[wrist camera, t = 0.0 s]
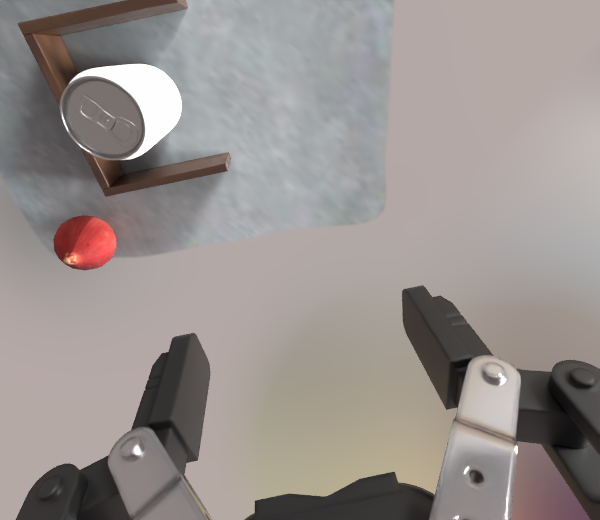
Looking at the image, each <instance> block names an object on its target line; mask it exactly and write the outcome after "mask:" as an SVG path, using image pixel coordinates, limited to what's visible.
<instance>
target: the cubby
mask: <svg viewBox="0 0 600 520" xmlns="http://www.w3.org/2000/svg"><path fill="white" fill-rule="evenodd" d="M187 8H188V7H187V3H186V0H125V1H121V2H116V3H111V4H106V5H102V6H97V7H92V8H87V9H83V10H78V11H73V12H68V13H64V14H59V15H54V16H50V17H45V18H40V19H35V20H31V21H26V22H21V23H18V25H19V27H20V29H21V31H22V33H23V35H24V37H25V39H26V41H27V43H28V45H29V47H30V49H31V51H32V53H33V55H34V57H35V59H36V61H37V63H38V65H39V67H40V69H41V71H42V73H43V74H44V76H45V78H46V80H47V82H48V84H49V86H50V88H51V90H52V92H53V94H54V96H55V98H56V100H57V102H58V104H59V106H60V99H61V96H62V93H63V91H64V89H65V88H66V87H67V86H68V85H69V83H70V82H71V80H72V79H73V78H74V77H75V76H76V75H78V73H77V71H76V69H75V67H74V64H73V62H72V60H71V58H70V56H69V54H68V51H67V49H66V47H65V45H64V43H63V41H62V38H61V36H60V35H65V34H70V33H74V32H79V31H84V30H89V29H93V28H98V27H103V26H108V25H112V24H117V23H122V22H127V21H131V20H136V19H141V18H146V17H150V16H155V15H160V14H164V13H169V12H174V11H179V10H183V9H187ZM81 149H82V148H81ZM82 151H83V153H84V155H85V157H86V159H87V161H88V163H89V165H90V167H91V169H92V171H93V173H94V175H95V177H96V179H97V181H98V182H99V184H100V186H101V188H102V190H103V192H104V194H105V196H111V195H116V194H120V193H125V192H130V191H135V190H139V189H144V188H149V187H154V186H159V185H163V184H168V183H173V182H178V181H182V180H187V179H192V178H197V177H201V176H206V175H211V174H216V173H221V172H225V171H228V168H229V164H230V160H231V158H230V154H229V153H223V154H219V155H214V156H209V157H204V158H199V159H195V160H190V161H185V162H180V163H176V164H171V165H166V166H161V167H157V168H152V169H147V170H142V171H137V172H133V173H128V174H124V173H123V171H122V168H121V166H120V164H119V162H118V160H105V159H101V158H98V157H95V156H93V155H91V154H89V153H88V152H86V151H84V150H83V149H82Z"/></svg>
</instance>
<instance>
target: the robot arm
mask: <svg viewBox="0 0 600 520" xmlns="http://www.w3.org/2000/svg"><path fill="white" fill-rule="evenodd" d="M402 306H403V324H404V328H405V331H406V334H407V336H408V338H409V340H410V342H411V344H412V346H413V347H414V349H415V351H416V353H417V355H418V357H419V359H420V361H421V363H422V365H423V366H424V368H425V370H426V372H427V374H428V376H429V378H430V380H431V382H432V383H433V385H434V387H435V389H436V391H437V393H438V395H439V396H440V398H441V400H442V402H443V404H444V406H445V408H446V409H451V408H456V407H457V413H456V417H455V419H454V420H453V423H452V427H451V431H450V435H449V439H448V443H447V447H446V451H445V455H444V460H443V464H442V468H441V472H440V476H439V480H438V484H437V489H436V493H435V495H434V494H433V493H431V492H429V491H427V490H425V489H423V488H420V487H417V486H414V485H410V484H406V483H398V481H397V478H396V475H395V472H391V473H386V474H381V475H376V476H372V477H367V478H362V479H359V480H357V481H355V482H353V483H352V484H350V485H348V486H346V487H344V488H342V489H340V490H339V491H337V492H335V493H333V494H331V495H329V496H326V497H320V496H310V495H299V494H285V495H281V496H276V497H271V498H267V499H261V500H257V501H255V513H254V514H252V515H250V516H249V517H247V518H246V519H245V520H511V513H512V502H513V490H514V480H515V469H516V457H517V441H521V442H529V443H538V444H542V446H543V448H544V449H545V451H546V452H547V454H548V455H549V457H550V458H551V460H552V461H553V463H554V464H555V466H556V467H557V469H558V471H559V472H560V474H561V475H562V477H563V478H564V480H565V481H566V483H567V484H568V486H569V487H570V489H571V490H572V492H573V493H574V495H575V496H576V498H577V500H578V501H579V503H580V504H581V506H582V507H583V509H584V510H585V512H586V513H587V515H588V516H589V518H590V519H591V520H600V369H598V368H597V367H595V366H593V365H590V364H588V363H585V362H581V361H576V360H566V361H561V362H559V363H557V364H555V366H554V367H553V369H552V372H543V371H528V370H520V369H516V368H515V367H514V366H513V365H512V364H511V363H509V362H508V361H506V360H504V359H502V358H499V357H495V356H493V354H492V353H491V352H490V351H489V349H488V348H487V347H486V345H485V344H484V343H483V342H482V340H481V339H480V338H479V336H478V335H477V334H476V333H475V331H474V330H473V329H472V328H471V326H470V325H469V324H467V321H466V320H465V319H464V317H463V316H462V315H461V314H460V312H459V311H458V310H457V308H456V307H455V306H454V304H453V303H451V302H450V301H448V300H447V299H445V298H443V297H442V296H437V297H432V296H431V295H430V293H429V292H428V291H427V289H426V288H425V287H424V286H417V287H413V288H408V289H404V290H403V291H402ZM209 380H210V365H209V362H208V359H207V357H206V354H205V352H204V350H203V348H202V346H201V344H200V342H199V340H198V338H197V336H196V334H195V333H191V334H186V335H181V336H176V337H174V338H173V339H172V342H171V345H170V349H169V352H167V353H162V354H161V355H160V357H159V358H158V359H157V361H156V362H155V363H154V365H153V366H152V369H151V373H150V375H149V380H148V381H147V384H146V387H145V389H146V390H145V391H144V393H143V396H142V399H141V402H140V406H139V408H138V411H137V414H136V418H135V420H134V423H133V426H132V429H131V431H129V432H127V433H126V434H124V435H123V436H122V437H121V438H120V439H119V440H118V441H117V442H116V443H115V445H114V446H113V448H112V449H111V451H110V454H109V455H108V456H106V457H105V458H103V459H101V460H99V461H97V462H95V463H93V464H91V465H89V466H87V467H85V468H83V469H81V470H79V469H78V468H77V467H76V466H75V465H73V464H62V465H59V466H57V467H55V468H53V469H51V470H50V471H48V472H47V473H46V474H44V475H43V476H42V477H41V478H40V479H39V480H38V481H37V482H36V483H35V484H34V486H33V487H32V488H31V490H30V491H29V493H28V495H27V497H26V499H25V501H24V503H23V505H22V507H21V510H20V512H19V514H18V516H17V518H16V520H213V519H212V518H211V516H210V514H209V513H208V511H207V510H206V508H205V507H204V505H203V503H202V502H201V500H200V499H199V497H198V495H197V494H196V492H195V491H194V489H193V488H192V486H191V484H190V483H189V481H188V480H187V478H186V476H185V475H184V473H185V468H186V463H188V462H192V461H197V460H198V456H199V449H200V442H201V436H202V428H203V422H204V415H205V408H206V401H207V394H208V387H209Z"/></svg>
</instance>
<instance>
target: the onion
mask: <svg viewBox="0 0 600 520" xmlns="http://www.w3.org/2000/svg"><path fill="white" fill-rule="evenodd" d="M116 246H117V244H116V236H115V234H114V232H113V230H112V228H111V227H110V226H109V225H108V224H107V223H106V222H105V221H103V220H101V219H99V218H97V217H92V216H78V217H73V218H71V219H69V220H68V221H66V222H65V223H63V224H61V225H60V227H59V228H58V230H57V232H56V234H55V236H54V250H55V252H56V254H57V256H58V258H59V259H60V260H61V261H62V262H63V263H65V264H66V265H68V266H70V267H71V268H74V269H81V270H89V269H95V268H99V267H101V266H103V265H104V264H105V263H107V262H108V261H109V260H110V259H111V258H112V257H113V255H114V252H115V250H116Z"/></svg>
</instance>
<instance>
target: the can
mask: <svg viewBox="0 0 600 520" xmlns="http://www.w3.org/2000/svg"><path fill="white" fill-rule="evenodd" d="M181 107H182V105H181V98H180V94H179V92H178V89H177V87H176V86H175V84H174V83H173V81H172V80H171V79H170V78H169V77H168V76H167V75H166V74H165V73H164V72H163V71H161V70H160V69H158V68H156V67H153V66H151V65H147V64H127V65H116V66H106V67H98V68H92V69H88V70H85V71H83V72H81V73H79V74H78V75H76V76H75V77H74V78H73V79H72V80H71V82H70V83H69V85H68V86H67V87H66V88H65V89H64V91H63V93H62V96H61V99H60V116H61V120H62V123H63V125H64V127H65V129H66V131H67V133H68V134H69V136H70V137H71V138H72V140H73V141H74V142H75V143H76V144H77V145H78V146H79V147H81V148H82V149H83V150H84V151H86V152H88V153H89V154H91V155H93V156H95V157H98V158H101V159H105V160H129V159H133V158H136V157H138V156H140V155H142V154H144V153H145V152H146V151H148V150H149V149H150V148H151V147H153V146H154V145H155V144H156V143H157V142H158V141H159V140H161V139H162V138H163V137H164V136H165V135H166V134H167V133H168V132H169V131H171V130H172V129H173V128H174V126H175V125H176V124H177V122H178V120H179V117H180V114H181Z"/></svg>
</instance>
